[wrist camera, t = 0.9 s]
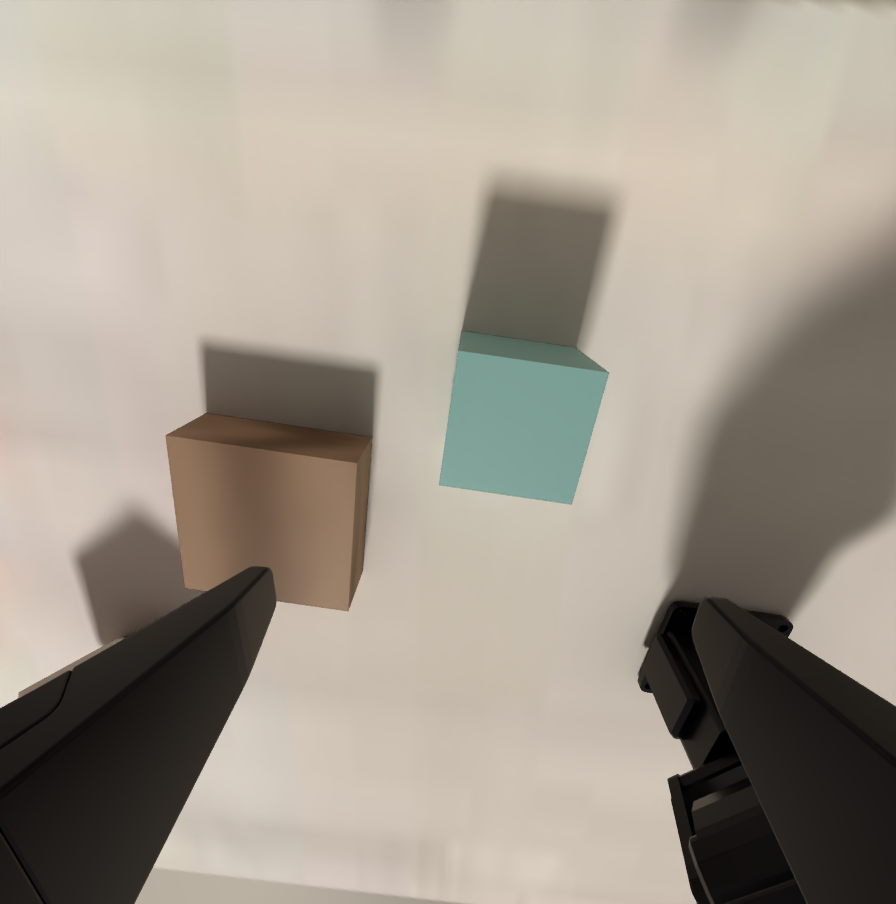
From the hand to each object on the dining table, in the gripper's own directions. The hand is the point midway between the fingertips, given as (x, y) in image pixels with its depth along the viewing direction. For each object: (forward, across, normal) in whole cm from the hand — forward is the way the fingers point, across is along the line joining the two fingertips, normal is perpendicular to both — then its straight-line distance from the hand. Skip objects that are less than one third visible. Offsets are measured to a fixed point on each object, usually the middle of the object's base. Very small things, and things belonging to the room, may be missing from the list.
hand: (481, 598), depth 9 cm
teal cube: (+12, -1, -1) cm, 12 cm away
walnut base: (+12, +9, +5) cm, 16 cm away
